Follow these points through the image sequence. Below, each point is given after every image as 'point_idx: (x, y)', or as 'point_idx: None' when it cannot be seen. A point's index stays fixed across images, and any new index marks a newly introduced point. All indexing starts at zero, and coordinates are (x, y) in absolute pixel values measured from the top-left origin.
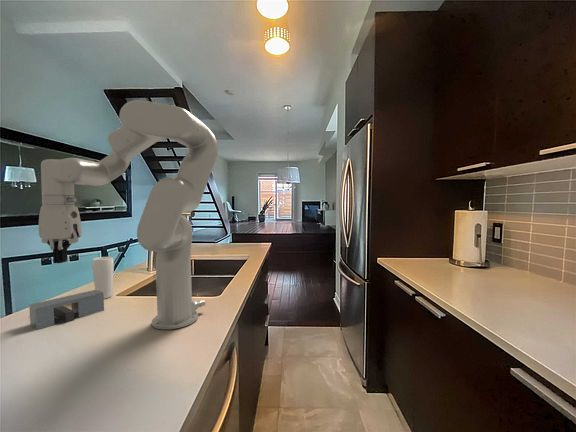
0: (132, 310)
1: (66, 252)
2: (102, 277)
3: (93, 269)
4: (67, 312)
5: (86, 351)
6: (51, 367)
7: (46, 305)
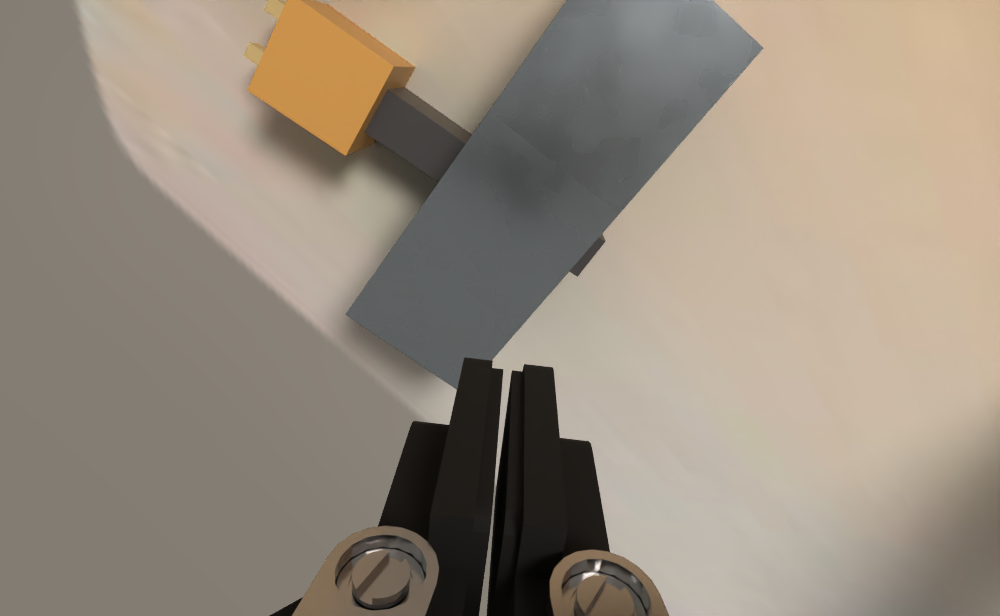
0: (939, 72)
1: (599, 531)
2: None
3: None
4: (582, 269)
5: (852, 538)
6: (779, 608)
7: (485, 343)
